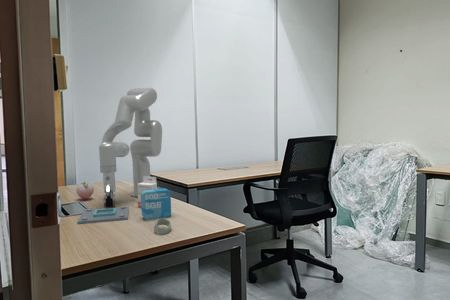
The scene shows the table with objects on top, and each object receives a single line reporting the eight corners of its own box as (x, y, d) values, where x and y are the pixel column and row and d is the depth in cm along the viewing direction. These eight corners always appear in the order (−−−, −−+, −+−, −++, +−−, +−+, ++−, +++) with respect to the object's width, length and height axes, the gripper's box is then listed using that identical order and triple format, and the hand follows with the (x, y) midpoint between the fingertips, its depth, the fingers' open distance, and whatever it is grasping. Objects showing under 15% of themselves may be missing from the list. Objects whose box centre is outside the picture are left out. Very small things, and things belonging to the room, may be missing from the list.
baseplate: (128, 208, 166) (128, 204, 166) (127, 219, 147) (127, 215, 147) (84, 211, 161) (84, 207, 161) (77, 224, 142) (77, 219, 142)
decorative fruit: (97, 199, 187) (96, 181, 187) (82, 202, 181) (81, 183, 180) (89, 197, 194) (88, 179, 193) (74, 199, 188) (73, 181, 187)
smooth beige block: (115, 205, 173) (115, 193, 172) (115, 208, 168) (114, 195, 167) (105, 206, 172) (104, 194, 171) (104, 208, 167) (103, 196, 166)
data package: (143, 220, 145) (142, 192, 144) (141, 217, 150) (140, 190, 149) (171, 216, 150) (170, 189, 149) (168, 214, 154) (167, 187, 153)
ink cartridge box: (137, 207, 168) (136, 177, 167) (144, 205, 172) (142, 176, 171) (151, 209, 164) (150, 178, 163) (158, 206, 169) (157, 176, 168)
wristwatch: (157, 227, 136) (157, 215, 135) (173, 227, 135) (173, 215, 135) (151, 235, 126) (151, 222, 126) (168, 235, 126) (168, 221, 126)
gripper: (115, 170, 161) (117, 208, 162) (117, 166, 177) (118, 200, 179) (98, 171, 159) (100, 209, 160) (101, 167, 176) (103, 201, 177)
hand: (109, 204), depth 170 cm, fingers open, 7 cm apart
